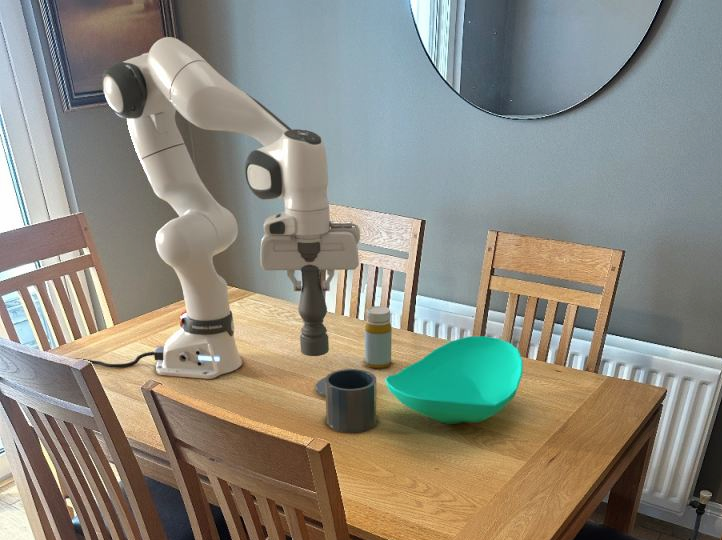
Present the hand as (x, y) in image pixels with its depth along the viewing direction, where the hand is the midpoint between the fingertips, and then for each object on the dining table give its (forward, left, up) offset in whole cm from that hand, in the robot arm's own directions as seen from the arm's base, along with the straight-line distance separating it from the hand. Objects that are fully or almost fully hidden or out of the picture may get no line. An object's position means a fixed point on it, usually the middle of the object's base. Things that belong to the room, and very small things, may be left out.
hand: (311, 290), depth 154 cm
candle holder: (0, 0, -14) cm, 14 cm away
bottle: (+15, +32, -31) cm, 47 cm away
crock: (+8, -1, -31) cm, 32 cm away
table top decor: (+32, +1, -31) cm, 44 cm away
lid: (+5, +16, -30) cm, 34 cm away
